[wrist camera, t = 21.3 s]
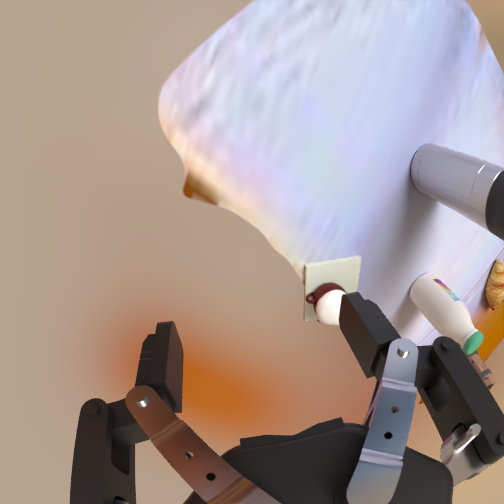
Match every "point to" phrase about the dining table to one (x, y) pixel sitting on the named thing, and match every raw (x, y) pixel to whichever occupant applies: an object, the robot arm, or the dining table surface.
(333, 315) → the cocoa
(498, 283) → the croissant
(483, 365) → the tankard
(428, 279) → the milk bottle
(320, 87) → the dining table surface
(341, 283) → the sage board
